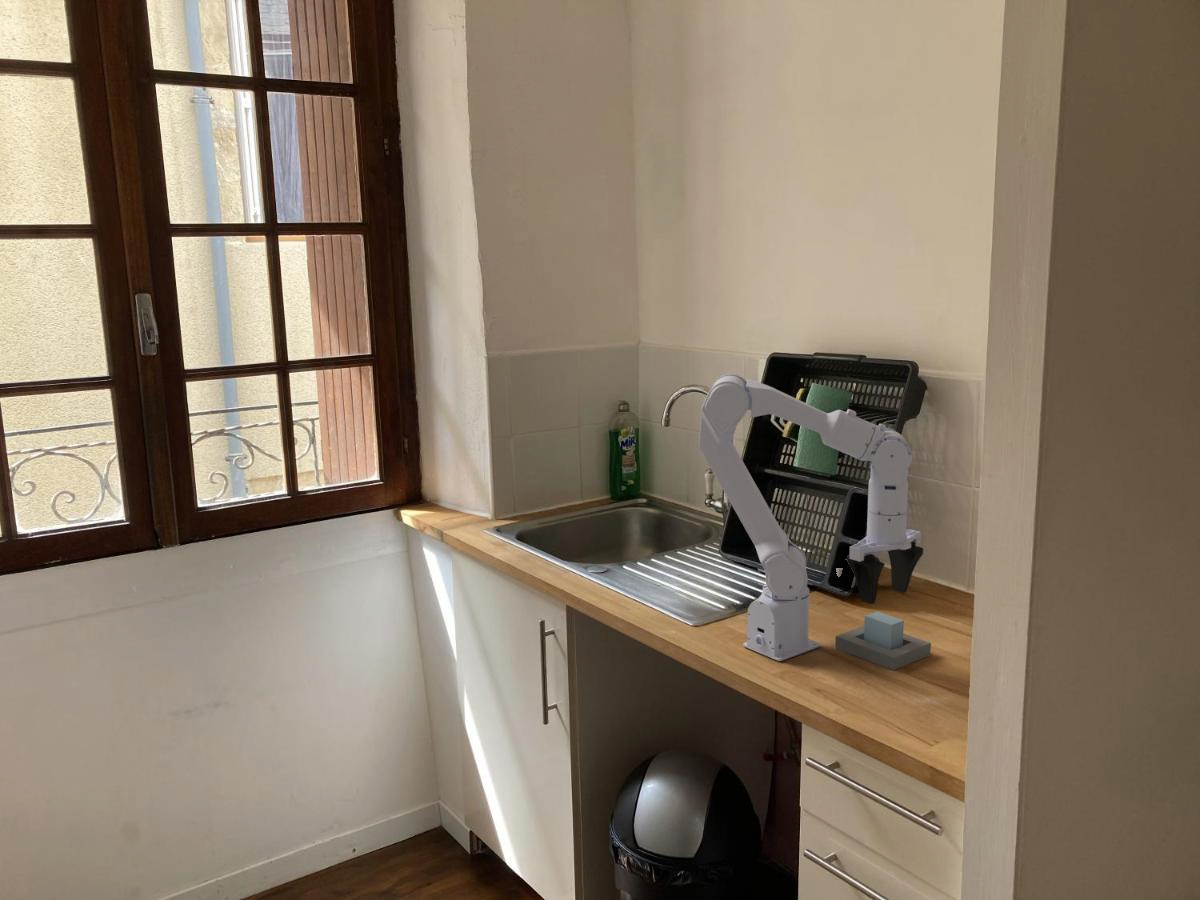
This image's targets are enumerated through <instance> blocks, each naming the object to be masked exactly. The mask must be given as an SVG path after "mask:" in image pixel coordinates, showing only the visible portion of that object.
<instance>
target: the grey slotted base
mask: <svg viewBox="0 0 1200 900" xmlns="http://www.w3.org/2000/svg"><path fill="white" fill-rule="evenodd" d="M834 641H835V642H834V643H835V644H834V645H835V649H837V650H839V651H843V652H845V653H847V654H850V655H852V656H855V657H857V658H860V659H863V660H866V661H868V662H869V663H870V662H871V663H873V664H876V665H877V666H878V665H879V666H880V667H883V668H886V669H889V670H892V671H896V670H898V669H901V668H903V667H905V666H908V665H910V664H913V663H915V662H917V661H920V660H923V659H925V658H926V657H929V656H931V649H932V642H929V641H927V640H925V639H920V638H918V637H915V636H912V635H909V634H907V633H904V632H903V646H901V647H898V648H896V649H893V650H889V649H886V648H884V647H881V646H878V645H876V644H873V643H870V642H867V641H865V640H864V625H862V626H858V627H857V628H854V629H850V630H849V631H845V632H842V633H840V634H837V635H835V640H834Z"/></svg>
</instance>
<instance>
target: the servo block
mask: <svg viewBox="0 0 1200 900" xmlns="http://www.w3.org/2000/svg"><path fill="white" fill-rule="evenodd" d="M904 622H905V620H904V619H900V618H897V617H894V616H891V615H888V614H886V613H883V612H880V611H875V612H872V613H869V614H867V615H864V625H863V626H864V640H865V641H867V642H870V643H873V644H876V645H878V646H881V647H884V648H886V649H889V650H893V649H896V648H898V647H901V646H903V633H904V628H905V625H904V624H905V623H904Z"/></svg>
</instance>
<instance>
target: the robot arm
mask: <svg viewBox="0 0 1200 900" xmlns="http://www.w3.org/2000/svg"><path fill="white" fill-rule="evenodd" d="M700 411H701V412H700V413H701V415H700V416H701V418H700V426H699V437H698V438H699V439H698V446H699V449H700V451H701V453H702V455H703V457H704V458H705V461H706V462H707V465H708V466H709V467H710V469H711V471H712V473H713V475H714V476H715V479H716V480H717V482H718V484H719V485H720V487H721V489H722V490H723V493H724V494H725V495H726V497H727V500H728V501H729V503H730V505H731V507H732V508H733V510H734V512H735V514H736V515H737V517H738V519H739V520H740V522H741V524H742V525H743V527H744V529H745V531H746V533H747V534H748V537H749V538H750V540H751V541H752V543H753V546H754V547H755V549H756V553H757V557H758V559H759V561H760V564H761V566H762V567H763V570H764V573H765V584H764V585H762V591H761V594H760V596H758V598H757V599H755V600H754V601H751V603H750V604H749V606H748V608H747V613H746V614H747V620H746V621H747V622H746V623H747V626H746V631H747V632H746V633H747V634H746V636H747V637H746V642H743V645H742V646H743V647H745V648H747V649H749V650H752V651H754V652H756V653H758V654H761V655H763V656H765V657H767V658H768V657H769V658H770V659H773V660H775V661H778V662H782V661H785V660H788V659H791V658H792V657H797V656H798V655H801V654H803V653H807V652H809V651H812V650H814V649H817V648H820V647H821V643H820V642H818V641H815V640H812V639H810V638H809V630H810V629H809V628H810V627H809V626H810V625H809V624H810V622H809V620H810V588H809V587H808V582H809V579H808V578H809V577H808V573H807V558H806V555H805V553H804V551H803V550H802V549H801V548H800V547H799V546H797V545H796V544H794V543H793V542H792V541H791V540H790V538H789V537H788V535H787V533H786V532H785V531H784V529H782V527H781V526H780V525H779V523H778V520H777V519H776V517H775V516H774V514H773V512H772V511H771V508H770V507H769V505H768V503H767V502H766V500H765V498H764V496H763V495H762V492H761V490H760V489H759V487H758V486H757V484H756V482H755V481H754V479H753V477H752V475H751V473H750V472H749V469H748V468H747V466H746V464H745V463H744V461H743V459H742V457H741V456H740V454H739V451H738V450H737V449H736V447H735V445H734V443H733V438H734V435H735V432H736V428H737V426H738V425H739V423H740V422H741V420H743V418H744V416H745V415H746V414H747V411H750V418H757V417H760V416H767V415H772V416H775V417H778V418H779V419H782V420H785V421H788V422H791V423H793V424H795V425H798V426H801V427H803V428H806V429H808V430H811V431H813V432H815V433H818V434H819V436H820V438H821V439H820V440H821V441H822V444H824V445H825V446H827V447H829V448H832V449H833V450H836V451H839V452H841V453H843V454H846V455H849V456H851V457H853V458H855V459H857V460H859V461H861V462H864V461H865V462H867V461H868V462H871V463H870V478H869V480H868V492H867V493H868V494H867V519H866V520H867V521H866V536H865V537H864V538H863V539H861V540H860V541H858V543H857V544H853V545H851V546H849V554H847V556H846V560H847V562H848V564H849V565H850V567H851V569H852V571H853V573H854V575H855V577H854V579H855V580H856V581H855V582H856V585H857V588H858V592H859V597H860V601H861V602H864V603H867V604H870V605H873V604H875V603H876V598H877V595H878V586H879V585H878V583H879V581H880V578H881V573H882V571H883V569H884V566H885V565H886V563H884V562H882V561H878V560H876V558H875V557H874V556H876V555H880V554H883V553H885V552H887V554H888V558H889V562H890V563H889V564H890V570H891V572H890V573H891V576H890V577H891V588H892V591H895V592H897V593H898V592H899V593H902V594H906V593H907V591H908V587H909V585H910V581H911V577H912V575H913V573H914V570H915V567H916V566H917V564H918V563H919V561H920V559H921V558H922V556H923V554H924V548H923V547H920V546H917V545H920V544H921V536H922V533H921V531H919V530H914V529H912V528H911V529H907V523H908V522H907V520H908V519H907V518H908V496H909V494H908V493H909V482H908V476H909V471H908V470H909V467H910V466H911V465H912V463H913V458H914V455H912V450H911V447H910V445H909V443H908V442H907V440H906V438H905V437H904V436H903V435H902V434H901V433H899V432H897V431H896V430H895V429H894V428H891V427H890V428H887V426H886V425H885V424H882V423H879V424H878V425H877V424H874V423H872V422H870V421H867V420H865V419H862V418H860V417H858V416H857V412H856V411H855V410H853V409H850V408H847V410H846V411H844V410H841V409H837V410H834V411H831V412H825V411H823V410H821V409H819V408H816V407H815V406H813V405H810V404H808V403H806V402H804V401H802V400H800V399H797V398H795V397H793V396H791V395H789V394H787V393H785V392H783V391H780V390H778V389H776V388H775V387H773V386H770V385H768V384H765V383H762V382H760V381H757V380H753V379H749V378H748V379H747V380H746V379H745V378H743V377H742V376H740V375H739V374H735V373H734V374H733V373H726V374H723V375H721V376H719V377H717V378H716V379H715V381H714V382H713V383H712V385H711V387H710V389H709V391H708V393H707V395H706V397H705V400H704V401H703V404H702V406H701V409H700Z"/></svg>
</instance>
